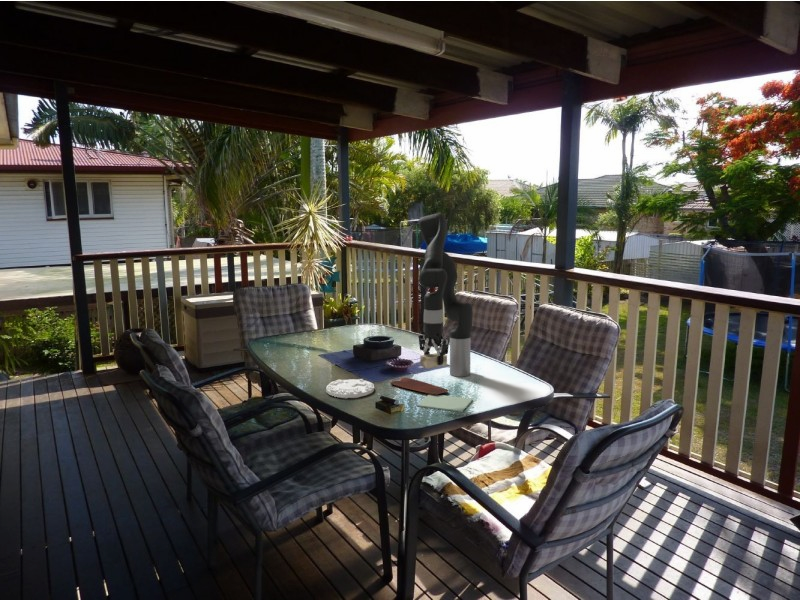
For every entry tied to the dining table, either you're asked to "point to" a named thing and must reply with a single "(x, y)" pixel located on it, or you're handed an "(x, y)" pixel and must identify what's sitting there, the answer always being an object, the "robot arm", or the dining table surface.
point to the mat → (445, 402)
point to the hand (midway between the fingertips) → (433, 363)
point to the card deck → (432, 361)
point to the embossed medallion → (350, 388)
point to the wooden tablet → (419, 386)
